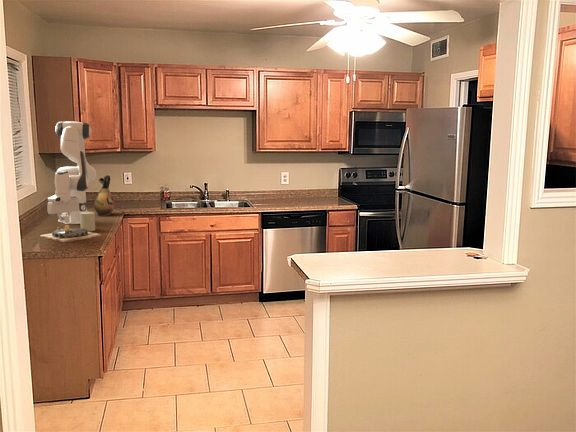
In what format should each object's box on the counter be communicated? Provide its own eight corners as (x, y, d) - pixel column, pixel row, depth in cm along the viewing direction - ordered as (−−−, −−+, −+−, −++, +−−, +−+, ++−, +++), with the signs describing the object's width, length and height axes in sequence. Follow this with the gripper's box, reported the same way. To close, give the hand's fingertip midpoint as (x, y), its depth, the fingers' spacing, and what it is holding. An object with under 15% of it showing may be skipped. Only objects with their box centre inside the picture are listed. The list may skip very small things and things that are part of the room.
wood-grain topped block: (59, 222, 334) (58, 215, 333) (63, 221, 336) (63, 214, 336) (65, 223, 331) (65, 216, 330) (69, 222, 333) (69, 215, 332)
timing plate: (39, 236, 328) (39, 230, 327) (74, 230, 349) (74, 224, 348) (65, 242, 315) (65, 235, 314) (100, 235, 336) (100, 229, 335)
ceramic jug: (108, 217, 401) (107, 176, 396) (90, 215, 404) (88, 175, 399) (120, 213, 417) (119, 174, 412) (102, 212, 420) (100, 174, 415)
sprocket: (47, 237, 321) (47, 226, 319) (57, 230, 340) (57, 220, 339) (83, 237, 323) (83, 226, 322) (91, 231, 343) (90, 220, 342)
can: (97, 230, 352) (97, 212, 350) (84, 232, 346) (83, 213, 344) (91, 228, 359) (91, 210, 357) (78, 229, 352) (77, 211, 350)
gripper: (74, 195, 341) (75, 217, 343) (45, 198, 324) (46, 221, 326) (81, 196, 338) (81, 218, 340) (51, 199, 321) (52, 222, 323)
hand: (64, 219), depth 333 cm, fingers closed on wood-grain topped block, 3 cm apart
